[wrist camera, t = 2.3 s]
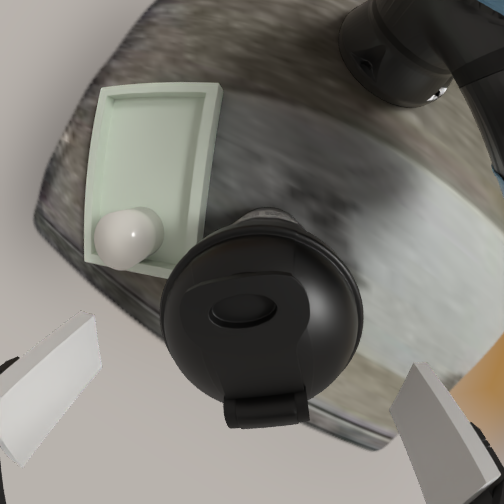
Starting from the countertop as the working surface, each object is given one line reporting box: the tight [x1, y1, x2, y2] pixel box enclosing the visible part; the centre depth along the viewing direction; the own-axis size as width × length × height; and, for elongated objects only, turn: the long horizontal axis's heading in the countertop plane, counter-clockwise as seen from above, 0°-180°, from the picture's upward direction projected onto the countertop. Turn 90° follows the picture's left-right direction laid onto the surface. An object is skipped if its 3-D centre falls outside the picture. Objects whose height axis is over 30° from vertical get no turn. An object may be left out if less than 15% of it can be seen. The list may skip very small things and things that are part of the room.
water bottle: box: [160, 207, 363, 429], centre depth 21 cm, size 10×10×23 cm
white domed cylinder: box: [94, 206, 164, 270], centre depth 29 cm, size 6×6×6 cm
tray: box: [84, 82, 224, 279], centre depth 30 cm, size 22×15×3 cm
